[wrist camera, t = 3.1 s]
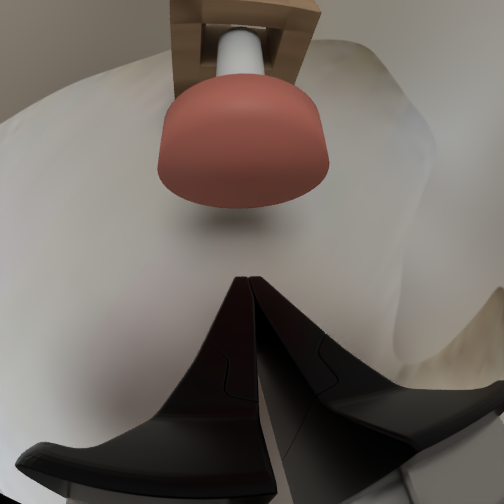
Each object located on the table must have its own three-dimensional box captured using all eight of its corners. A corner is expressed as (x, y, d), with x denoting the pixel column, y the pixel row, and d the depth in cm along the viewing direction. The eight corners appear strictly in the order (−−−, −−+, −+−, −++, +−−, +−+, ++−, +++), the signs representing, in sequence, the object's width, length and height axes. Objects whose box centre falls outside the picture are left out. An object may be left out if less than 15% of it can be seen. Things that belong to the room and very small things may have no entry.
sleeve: (274, 137, 20) (321, 12, 10) (178, 135, 19) (169, 0, 9) (269, 92, 21) (303, -19, 11) (184, 89, 20) (184, -29, 10)
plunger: (300, 210, 13) (358, 132, 8) (168, 208, 12) (144, 119, 7) (282, 84, 15) (309, 6, 10) (183, 80, 15) (182, -5, 9)
